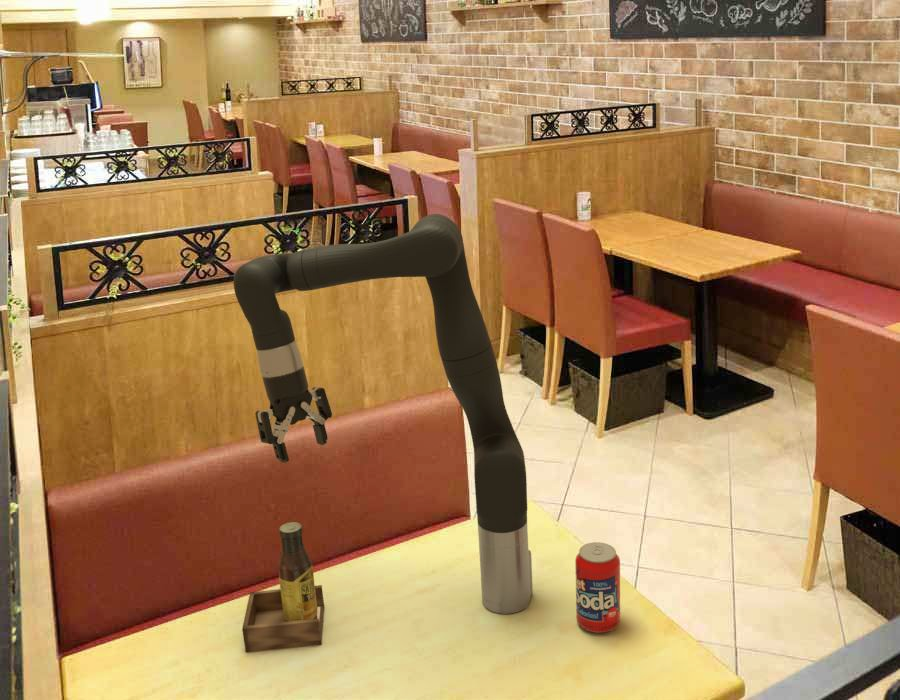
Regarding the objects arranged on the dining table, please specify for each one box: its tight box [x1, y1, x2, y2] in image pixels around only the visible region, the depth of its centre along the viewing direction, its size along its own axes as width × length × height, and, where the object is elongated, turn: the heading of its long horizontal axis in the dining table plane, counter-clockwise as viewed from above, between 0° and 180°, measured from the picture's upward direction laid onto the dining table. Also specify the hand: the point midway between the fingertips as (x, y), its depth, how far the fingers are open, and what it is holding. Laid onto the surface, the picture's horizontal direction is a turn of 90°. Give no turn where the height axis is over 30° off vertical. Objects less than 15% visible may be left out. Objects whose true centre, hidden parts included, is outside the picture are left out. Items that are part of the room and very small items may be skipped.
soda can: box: [574, 541, 621, 633], centre depth 165 cm, size 8×8×15 cm
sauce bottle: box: [277, 521, 318, 622], centre depth 169 cm, size 7×6×20 cm
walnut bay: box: [241, 584, 325, 653], centre depth 171 cm, size 14×12×5 cm
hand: (303, 452), depth 168 cm, fingers open, 8 cm apart
